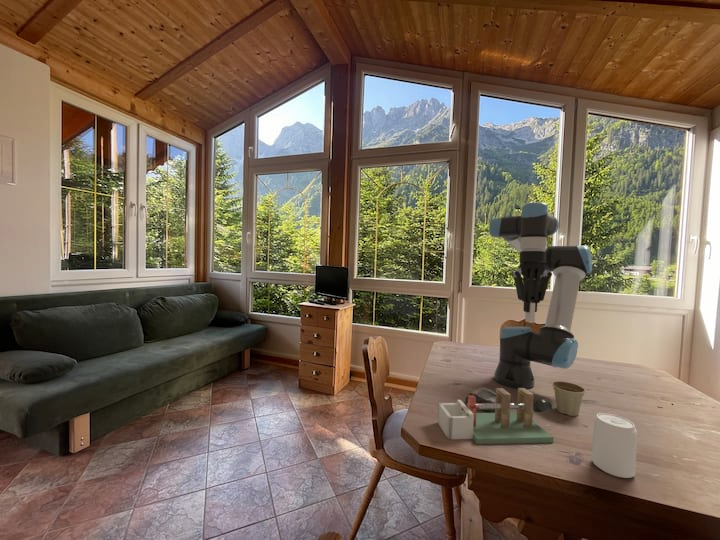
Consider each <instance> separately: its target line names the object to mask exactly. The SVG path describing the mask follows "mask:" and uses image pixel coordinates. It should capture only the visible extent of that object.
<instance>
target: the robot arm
mask: <svg viewBox="0 0 720 540" xmlns="http://www.w3.org/2000/svg"><path fill="white" fill-rule="evenodd" d="M548 208H549V206H548V204H547V203H545V202H529V203H525V204H524V205H522V207H521V212H520V213H521V214H520V215H515V216H500V217H497V218H496V217H495V218H492V219H491V220H490V222H489V226H488V231H489V234H490V236H491V237H492V238H502V239H504V240H505V241H506V242H507V243H508V244H509V245H510V246H512V247H513V248H514V249H515V250H516V251H517V252H518V253H519V265H518V269H516V270H512V271H511V275H512V277H513V280H514V284H515V289H516V295H517V299H518V300H520V301H522V302H523V312H524V316H525V317H524V322H527V323H528V324H529V323H530V324H535V323H536V321H535V320H536V317H535V316H536V313H537V312H538V304H540V302H543V301H544V299H545V295H546V292H547V287H548V285H549V280H550V279H551V277H552V276H555V278H554V284H553V287H552V288H553V289H552V294H551V297H550V302H549V306H548V310H547V311H548V312H547V316H546V320H545V325H543V326H541V327H539V331H538V332H534V331H533V329H532V327H529V326H505V327H503V328H501V329H500V337H499V361H498V364H497V365H496V368H495V371H494V377H493V378H495V379H494V380H495V382H497V383H499V384H500V383H501V385H503V386H506V387H509V388H515V389H518V388H525V389H526V390H529V389H532V388H534V387H535V377H534V374H533V371H532V368H531V362H533V363H538V364H541V365H544V366H545V365H546V366H551V367H553V368H560V369H564V370H565V369H569V368H571V367H572V365H573V364H574V363H575V360H576V357H577V354H578V348H579V343H578V341H577V339H576V338H575V335H574V334H573V332H572V331H571V329H572V324H573V319H574V313H575V308H576V304H577V297H578V294H579V293H578V292H579V289H580V288H579V287H580V282H581V281H582V280H584V279H585V278H586V275H587V274H591V273H592V271H593V258H592V252H591V249H590V247H588V246H587V245H578V244H577V245H547V237H550V236H552V235H554V234H556V232H558V230H559V228H560V222H559V220H558V219H557V218H556V216H554V215H553V214H550V213H549V209H548Z"/></svg>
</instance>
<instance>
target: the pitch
mask: <svg viewBox="0 0 720 540" xmlns="http://www.w3.org/2000/svg"><path fill="white" fill-rule="evenodd" d="M461 416H467V413H466V412H461ZM472 440H473V441H474V442H475V444H476V445H496V444H497V445H499V444H501V445H503V444H506V445H507V444H511V445H512V444H542V443H543V444H546V443H548V444H550V443H554V436H552V434H551V433H549V432H548V431H547V430H545V429H544V428H543V427H541V426H540V425H539V424H538V423H537V422H535V421H534V420H533V419H532V428H525V427H524V422H518V421H517V411H516V412H510V423H509V428H505V429H503V428H502V427H501V422H496V421H495V413H492V412H476V427H473V439H472Z"/></svg>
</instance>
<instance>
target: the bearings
mask: <svg viewBox="0 0 720 540" xmlns="http://www.w3.org/2000/svg"><path fill="white" fill-rule="evenodd" d="M495 393H496V401H495V403H502V409H495V421H496V422H501V427H502V428H503V429H505V428H509V423H510V413H511V409H510V403H511V396H512V394H511V393H510V392H508V391H507V390H505V389H504V388H503V387H500V388H499V387H495ZM533 399H534V393H533V392H531V391H530V390H529V389H525V388H517V398H516V400H517V402H516V403H524V409H516V412H517V421H518V422H524V427H525V428H532V420H533V417H534V414H533V413H534V410H533Z"/></svg>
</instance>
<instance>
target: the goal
mask: <svg viewBox="0 0 720 540" xmlns="http://www.w3.org/2000/svg"><path fill="white" fill-rule="evenodd" d="M437 406H438V407H437V424H438V425H439V427H440V429H441V430H442V432H443V433H444V435H445V436H446V438H447V439H448V440H473V422H474V418H473V417H474V414H473V413H472V412H471V411H470V410H469V408H468V407H467V404H465V403H464V401H462V400H461V399H457V401H456V402H438V403H437ZM462 409H463V410H464V413H467V414H468V415H469V416H461V413H462Z"/></svg>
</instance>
